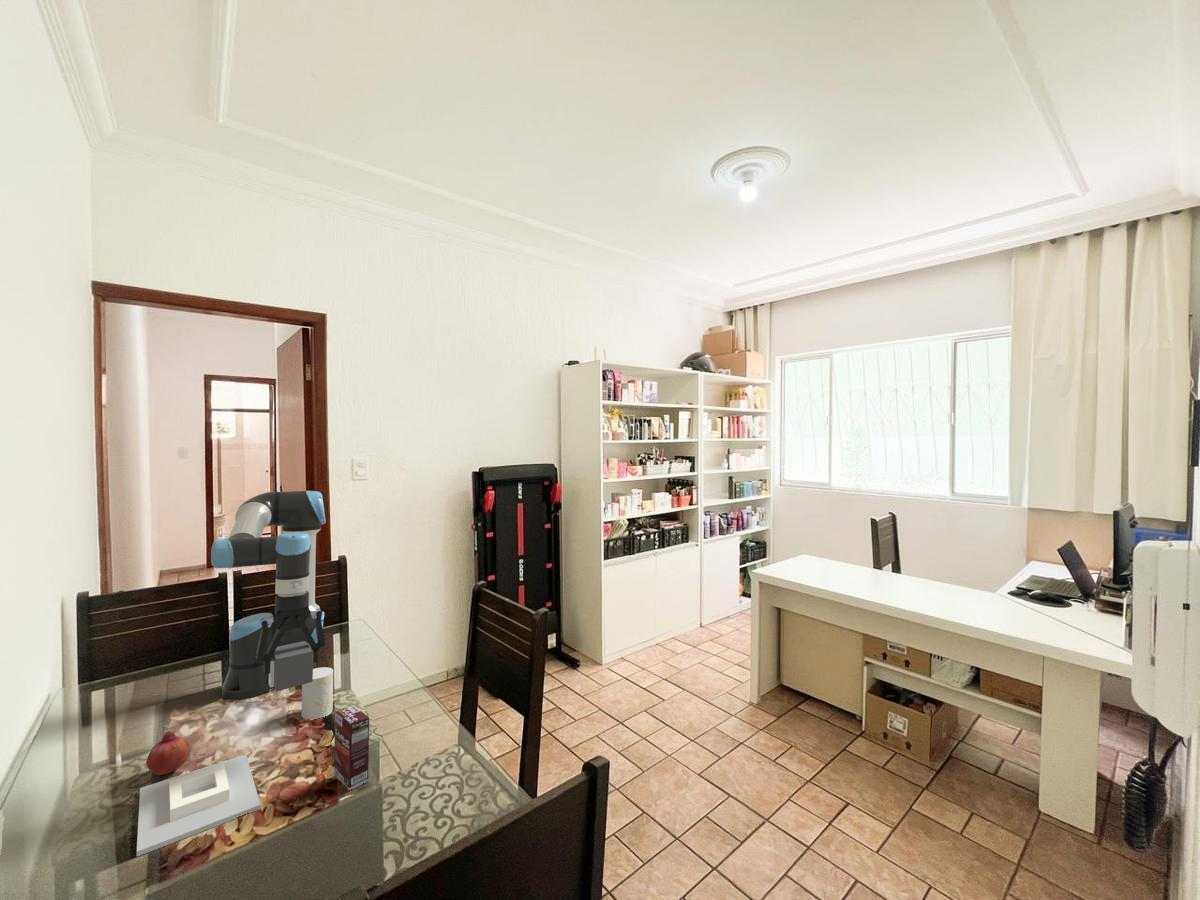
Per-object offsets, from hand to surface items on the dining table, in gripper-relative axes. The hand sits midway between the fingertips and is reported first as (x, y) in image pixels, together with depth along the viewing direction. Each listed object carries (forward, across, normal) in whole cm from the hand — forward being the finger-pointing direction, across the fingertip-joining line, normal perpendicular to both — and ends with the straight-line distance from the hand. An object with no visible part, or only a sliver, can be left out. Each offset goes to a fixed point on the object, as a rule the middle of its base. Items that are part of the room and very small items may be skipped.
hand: (291, 680), depth 130 cm
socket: (+19, -19, -7) cm, 28 cm away
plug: (+2, 0, 0) cm, 2 cm away
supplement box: (+19, +9, -21) cm, 30 cm away
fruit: (+19, -24, +10) cm, 32 cm away
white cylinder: (+19, +10, +18) cm, 28 cm away
